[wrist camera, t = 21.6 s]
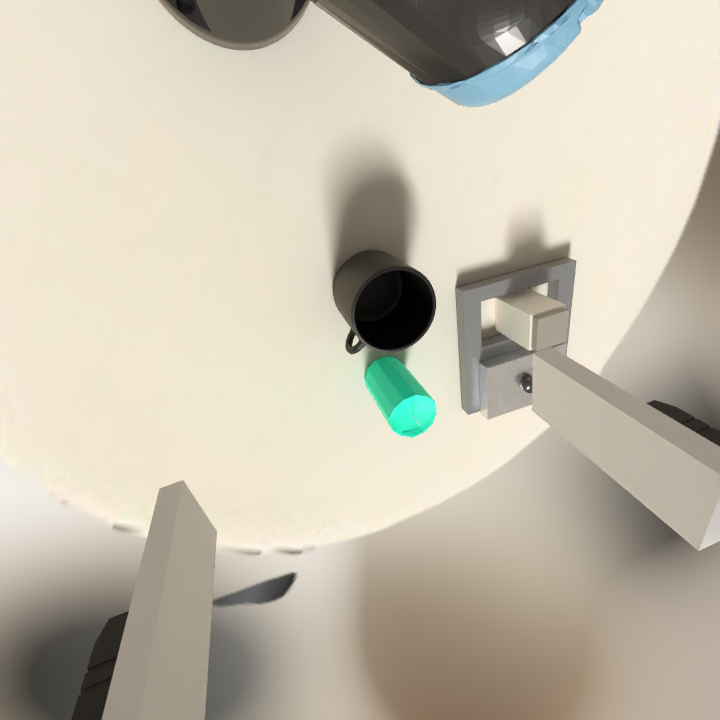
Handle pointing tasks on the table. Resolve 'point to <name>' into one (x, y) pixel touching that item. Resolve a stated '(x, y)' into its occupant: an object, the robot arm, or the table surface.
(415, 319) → the mug
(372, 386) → the candle
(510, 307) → the plug
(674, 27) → the table surface
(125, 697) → the robot arm
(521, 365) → the panel
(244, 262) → the table surface
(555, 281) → the grey flat frame
